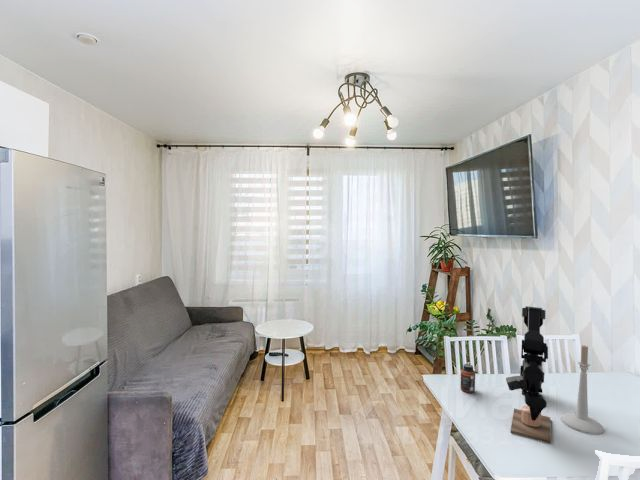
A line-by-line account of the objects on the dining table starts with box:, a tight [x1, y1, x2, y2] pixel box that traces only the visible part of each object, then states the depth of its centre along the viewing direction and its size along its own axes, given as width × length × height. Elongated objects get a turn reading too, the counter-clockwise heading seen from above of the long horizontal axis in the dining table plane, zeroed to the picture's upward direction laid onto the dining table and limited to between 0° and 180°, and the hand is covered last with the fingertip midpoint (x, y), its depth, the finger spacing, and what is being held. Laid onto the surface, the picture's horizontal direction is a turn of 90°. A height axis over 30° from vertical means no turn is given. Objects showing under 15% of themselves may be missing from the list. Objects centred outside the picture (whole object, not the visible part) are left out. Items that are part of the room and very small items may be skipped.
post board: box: [510, 408, 552, 444], centre depth 132 cm, size 18×12×6 cm, turn 148°
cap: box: [520, 405, 542, 427], centre depth 132 cm, size 6×6×4 cm
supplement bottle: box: [460, 363, 476, 394], centre depth 160 cm, size 6×6×11 cm
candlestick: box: [560, 344, 605, 435], centre depth 133 cm, size 13×13×30 cm
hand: (531, 414), depth 131 cm, fingers open, 9 cm apart
